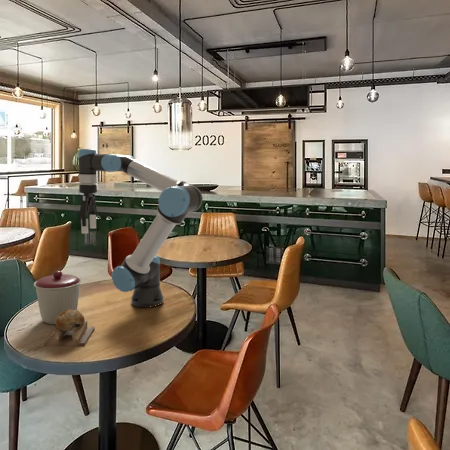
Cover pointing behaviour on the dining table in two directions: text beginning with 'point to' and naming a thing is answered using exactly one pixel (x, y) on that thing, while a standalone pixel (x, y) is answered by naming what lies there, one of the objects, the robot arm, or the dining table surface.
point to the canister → (57, 295)
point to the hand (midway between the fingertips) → (89, 230)
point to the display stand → (70, 336)
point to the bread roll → (70, 320)
